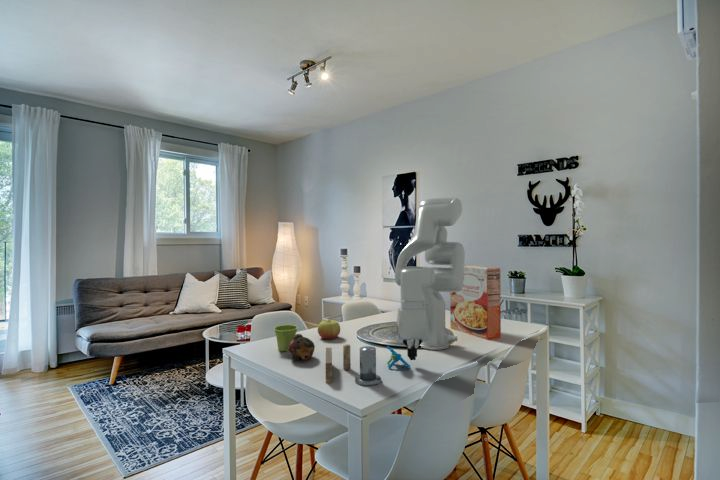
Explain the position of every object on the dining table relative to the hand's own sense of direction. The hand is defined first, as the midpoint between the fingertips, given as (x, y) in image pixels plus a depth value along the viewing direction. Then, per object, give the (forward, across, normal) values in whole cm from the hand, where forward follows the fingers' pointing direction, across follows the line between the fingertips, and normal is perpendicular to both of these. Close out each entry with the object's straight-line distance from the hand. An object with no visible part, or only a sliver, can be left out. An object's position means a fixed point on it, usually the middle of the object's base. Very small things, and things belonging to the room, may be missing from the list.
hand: (412, 358), depth 130 cm
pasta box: (+3, -38, -41) cm, 56 cm away
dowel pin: (+3, +22, 0) cm, 22 cm away
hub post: (+3, +16, +11) cm, 20 cm away
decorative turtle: (+3, +38, -14) cm, 41 cm away
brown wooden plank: (+3, +28, +3) cm, 29 cm away
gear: (+3, +5, 0) cm, 6 cm away
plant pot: (+3, +45, -26) cm, 52 cm away
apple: (+3, +28, -40) cm, 49 cm away
